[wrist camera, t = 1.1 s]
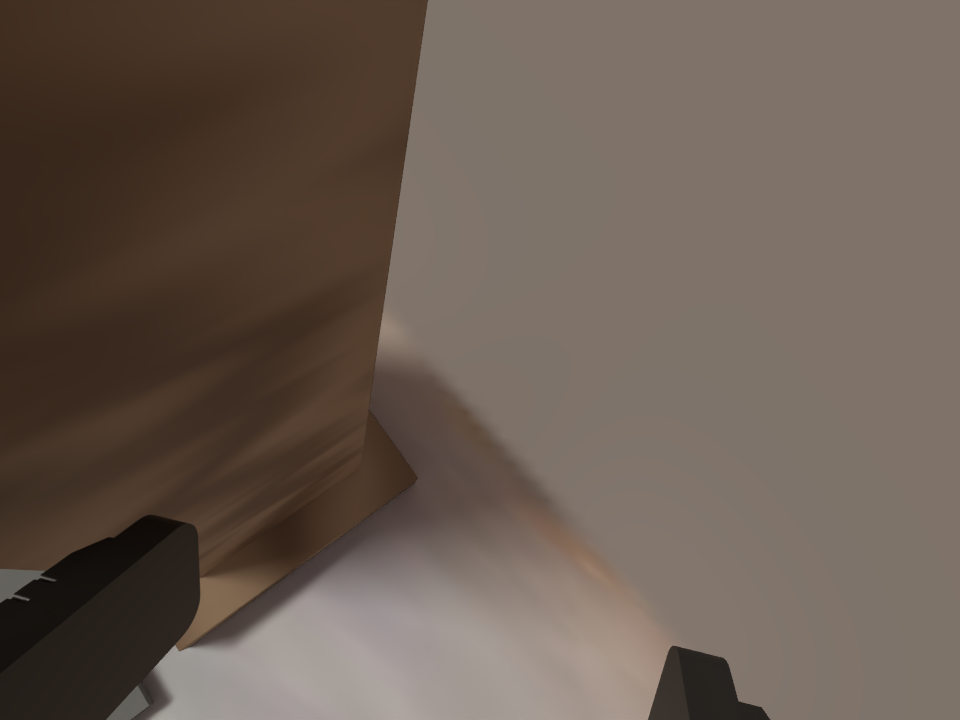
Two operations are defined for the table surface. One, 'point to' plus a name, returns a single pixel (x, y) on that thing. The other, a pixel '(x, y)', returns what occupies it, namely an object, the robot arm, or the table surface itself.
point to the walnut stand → (198, 275)
